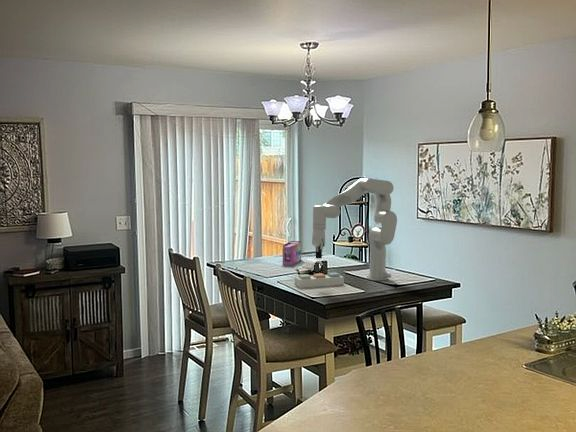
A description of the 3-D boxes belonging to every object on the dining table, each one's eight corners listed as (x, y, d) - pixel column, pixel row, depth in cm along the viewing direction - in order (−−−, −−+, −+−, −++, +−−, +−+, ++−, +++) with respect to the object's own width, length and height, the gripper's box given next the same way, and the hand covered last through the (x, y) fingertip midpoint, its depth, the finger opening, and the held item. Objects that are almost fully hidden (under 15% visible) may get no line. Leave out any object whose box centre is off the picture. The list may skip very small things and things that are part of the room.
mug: (313, 269, 373) (313, 257, 372) (323, 272, 365) (323, 260, 364) (299, 271, 367) (299, 259, 366) (308, 274, 358) (308, 262, 357)
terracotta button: (322, 278, 332) (322, 273, 332) (325, 280, 327) (325, 275, 326) (313, 278, 330) (313, 273, 330) (316, 280, 325) (316, 275, 325)
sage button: (307, 279, 329) (307, 274, 329) (310, 281, 324) (310, 276, 324) (298, 279, 328) (298, 274, 327) (301, 281, 323) (301, 276, 322)
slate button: (336, 277, 334) (336, 272, 334) (339, 279, 329) (339, 274, 329) (327, 277, 333) (327, 272, 333) (331, 279, 328) (331, 274, 327)
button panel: (337, 281, 337) (337, 274, 337) (343, 284, 328) (343, 277, 328) (294, 284, 329) (294, 276, 329) (299, 287, 321) (299, 280, 320)
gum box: (292, 265, 388) (292, 246, 386) (281, 265, 390) (281, 245, 389) (301, 259, 411) (301, 241, 409) (291, 259, 413) (291, 240, 412)
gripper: (308, 225, 331) (308, 256, 333) (317, 228, 317) (317, 260, 319) (320, 225, 334) (320, 255, 335) (330, 228, 319) (329, 260, 321)
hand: (318, 258), depth 327 cm, fingers closed
